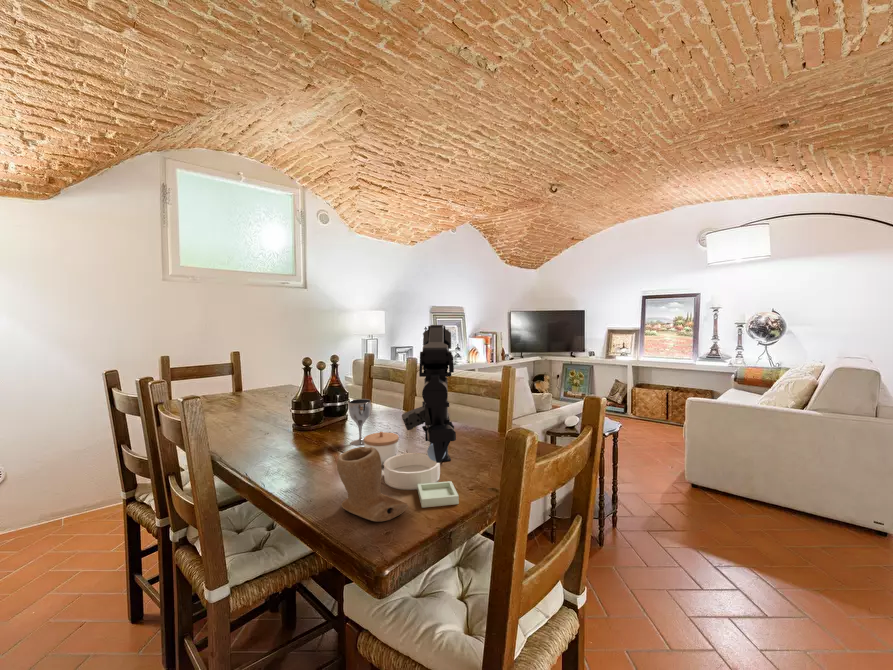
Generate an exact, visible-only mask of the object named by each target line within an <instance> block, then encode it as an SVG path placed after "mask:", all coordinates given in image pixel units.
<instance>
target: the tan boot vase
mask: <svg viewBox="0 0 893 670" xmlns="http://www.w3.org/2000/svg"><path fill="white" fill-rule="evenodd" d="M382 466H383V465H381V458H380V454H379V452H378V451H377V450H376V449H375V448H374V447H370V448H367V447H364V446H359V447H355V448H352V449H349V450H346V451H344V452H342V453H340V455H338V457H337V459H336V469H337V473H338V476H339V478H340V480H341V482H342V485H343V486H344V488H345V490H346V492H347V498H345V499H344V500H343V501H342V502H341V508H343V509H344V510H345V511H346V512H348V513H351V514H353V515H356V516H357V517H360V518H363V519H365V520H367V521H371V522H387V521H391V520H393V519H395V518H396V517H398V516H399V515H401V514H403V513H404V512H405V511H406V510H407V509H408V508H409V504H408V503H407V502H404V501H402V500H399V499H397V498H394V497H392V496H389V495H386V494H383V493H382V491H381V485H382V484H381V483H382V475H383V474H382V473H383V470H382V469H383V468H382Z"/></svg>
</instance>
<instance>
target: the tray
mask: <svg viewBox="0 0 893 670" xmlns="http://www.w3.org/2000/svg"><path fill="white" fill-rule="evenodd" d="M417 486H418V489H417V494H418V497H419V502H420V506H421V509H422V508H431V507H441V506H442V507H444V506H451V505H453V506H454V505H459V503H460V501H459V500H460V497H459V493H458V491H457V490H456V487H455V485H454V483H453V482H452V480H448V481H438V482H436V483H424V484H417Z"/></svg>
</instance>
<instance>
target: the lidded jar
mask: <svg viewBox="0 0 893 670" xmlns="http://www.w3.org/2000/svg"><path fill="white" fill-rule="evenodd" d="M363 439H364V445H363V447H367V448H370V447H374V448H375V449H376V450H377V451H378V452H379V454H380V458H381V466H384V462H385V461H386V460H387V459H388V458H391V457H393V456H396V455H398V451H399V440H400V438H399V435H398V434H396V433H393V432H385V431H379V432H375V433H370V434H367V435H366V436H364V438H363Z"/></svg>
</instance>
